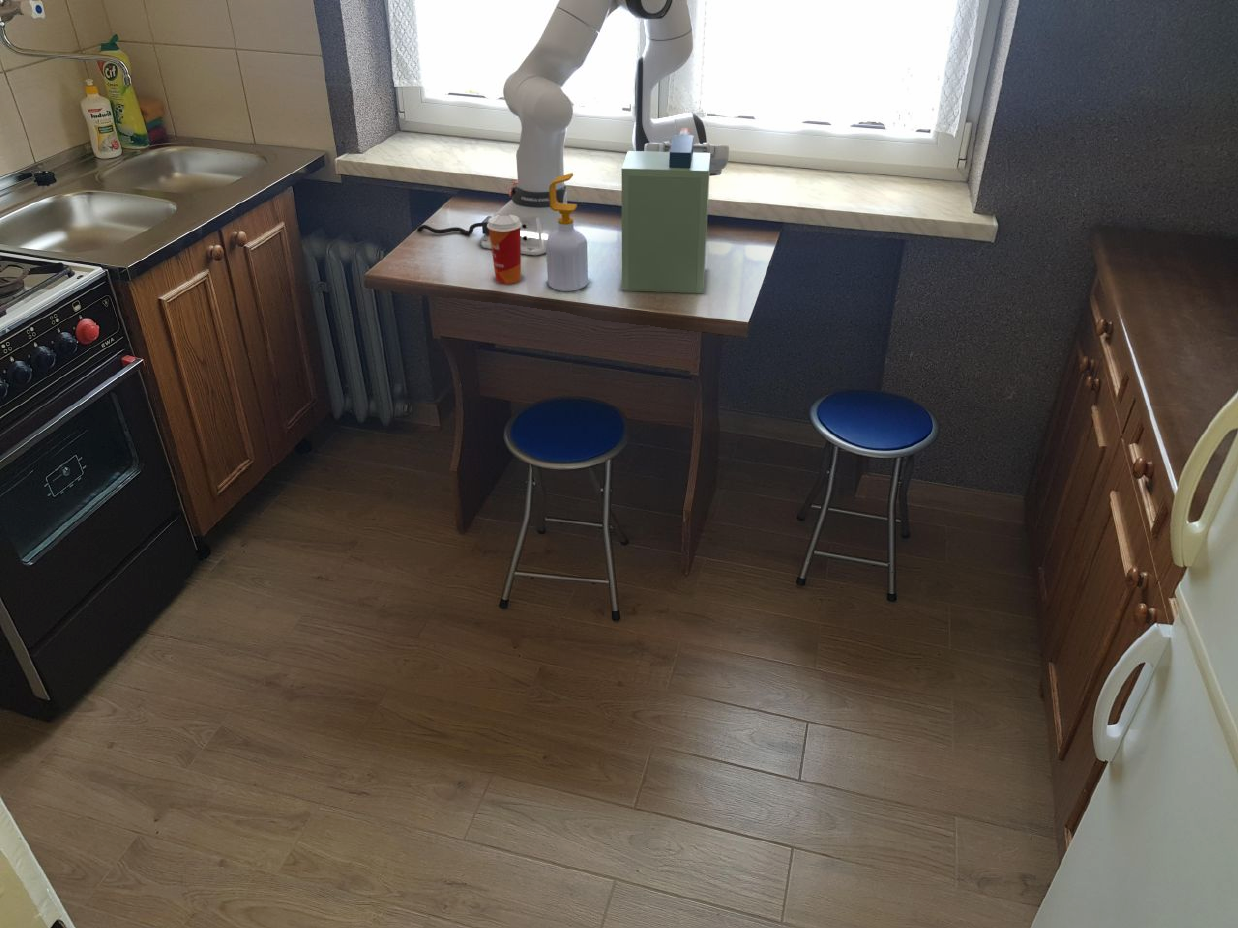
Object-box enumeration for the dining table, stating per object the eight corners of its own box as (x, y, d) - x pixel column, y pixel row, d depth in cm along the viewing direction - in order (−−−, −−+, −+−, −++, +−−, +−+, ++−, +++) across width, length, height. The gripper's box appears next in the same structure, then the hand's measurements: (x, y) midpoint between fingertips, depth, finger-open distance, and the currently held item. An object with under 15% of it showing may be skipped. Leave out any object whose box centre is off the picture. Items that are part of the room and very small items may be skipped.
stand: (627, 267, 223) (627, 150, 208) (704, 270, 221) (710, 153, 206) (621, 290, 212) (621, 168, 197) (702, 293, 211) (708, 171, 196)
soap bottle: (583, 293, 211) (580, 182, 197) (543, 290, 213) (537, 180, 199) (592, 277, 218) (589, 170, 205) (553, 274, 220) (548, 167, 206)
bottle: (675, 140, 215) (675, 126, 213) (694, 141, 214) (695, 126, 212) (669, 167, 198) (669, 152, 196) (690, 168, 197) (691, 152, 195)
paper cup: (492, 273, 221) (486, 214, 213) (525, 272, 221) (521, 213, 213) (491, 286, 214) (485, 226, 206) (525, 285, 215) (521, 225, 207)
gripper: (645, 146, 236) (642, 131, 223) (728, 149, 235) (730, 133, 221) (644, 172, 237) (640, 158, 223) (727, 175, 235) (728, 161, 221)
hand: (685, 146), depth 222 cm, fingers open, 8 cm apart
